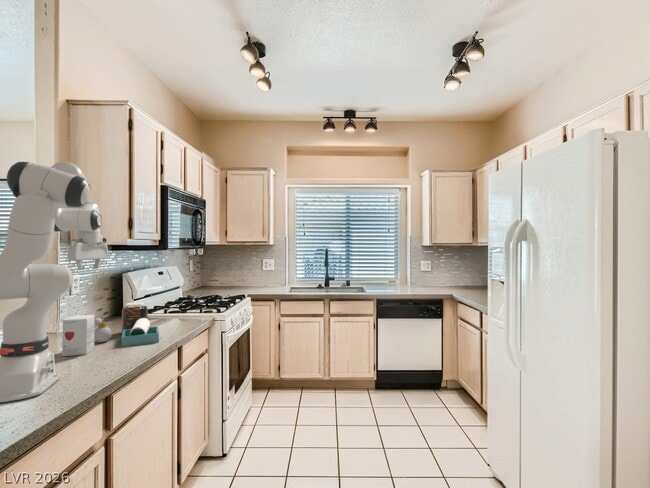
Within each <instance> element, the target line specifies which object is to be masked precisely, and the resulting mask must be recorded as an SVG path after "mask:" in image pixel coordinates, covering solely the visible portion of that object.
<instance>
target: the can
mask: <svg viewBox="0 0 650 488" xmlns="http://www.w3.org/2000/svg"><path fill="white" fill-rule="evenodd" d="M149 327H151V322H150V320H149V318H148V319H147V318H141V319H139V320H137V322H136V323H135V325H134V327H133V328H132V330H131V332H130V336H133V335H143V334H146V333H147V331H148V329H149Z"/></svg>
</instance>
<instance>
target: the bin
mask: <svg viewBox="0 0 650 488" xmlns="http://www.w3.org/2000/svg"><path fill="white" fill-rule="evenodd" d="M131 330H132V329H125V330H123V334H122V333H121V334H122V335H121V347H129V346H138V345H146V344H155V343H156V344H157V343H159V342H160V332H159V331H160V330H159V326H157V325H156V326H150V327H149V329H148V331H147V333H146V334H143V335H133V336H130V332H131Z"/></svg>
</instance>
